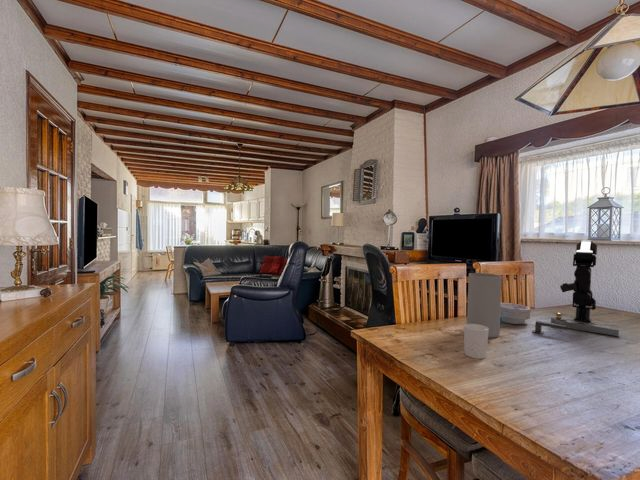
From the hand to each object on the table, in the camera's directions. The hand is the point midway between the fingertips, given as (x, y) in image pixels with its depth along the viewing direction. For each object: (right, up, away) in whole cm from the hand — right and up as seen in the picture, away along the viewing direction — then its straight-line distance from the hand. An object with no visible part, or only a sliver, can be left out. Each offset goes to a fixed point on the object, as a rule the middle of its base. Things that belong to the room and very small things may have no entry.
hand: (581, 311), depth 157 cm
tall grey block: (-53, -7, -14) cm, 55 cm away
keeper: (-24, -7, -13) cm, 29 cm away
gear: (-44, -6, -2) cm, 45 cm away
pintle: (-11, -7, 0) cm, 13 cm away
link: (-4, -7, -6) cm, 10 cm away
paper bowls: (-29, -6, +6) cm, 30 cm away
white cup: (-68, -7, -40) cm, 79 cm away
